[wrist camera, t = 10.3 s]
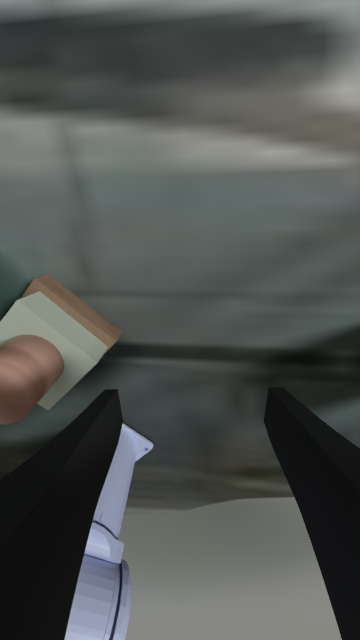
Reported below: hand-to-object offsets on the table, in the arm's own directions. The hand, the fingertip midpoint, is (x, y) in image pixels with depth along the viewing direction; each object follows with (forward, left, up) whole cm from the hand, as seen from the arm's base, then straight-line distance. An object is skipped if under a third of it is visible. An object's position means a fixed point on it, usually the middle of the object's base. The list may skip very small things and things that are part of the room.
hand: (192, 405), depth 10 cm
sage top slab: (-9, +8, -8) cm, 15 cm away
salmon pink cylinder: (-9, +8, -6) cm, 13 cm away
